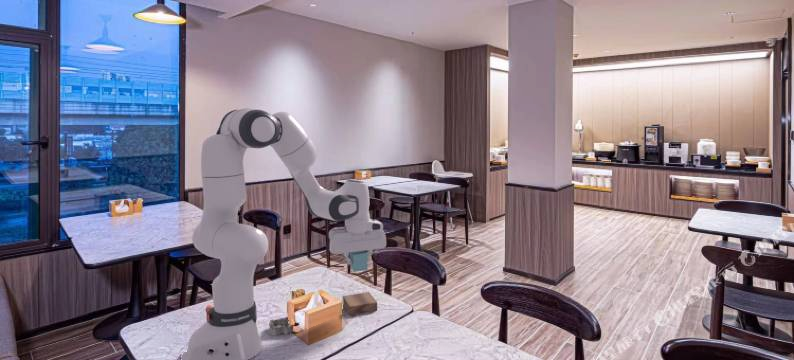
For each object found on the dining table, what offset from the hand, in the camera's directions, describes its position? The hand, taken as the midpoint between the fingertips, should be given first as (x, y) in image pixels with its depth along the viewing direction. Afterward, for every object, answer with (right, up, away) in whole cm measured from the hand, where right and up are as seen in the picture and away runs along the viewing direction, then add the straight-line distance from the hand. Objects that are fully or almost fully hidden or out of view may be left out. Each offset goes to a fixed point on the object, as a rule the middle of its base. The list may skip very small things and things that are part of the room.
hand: (358, 262), depth 157 cm
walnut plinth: (0, -16, +2) cm, 17 cm away
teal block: (0, -2, 0) cm, 2 cm away
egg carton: (-22, -20, -14) cm, 33 cm away
